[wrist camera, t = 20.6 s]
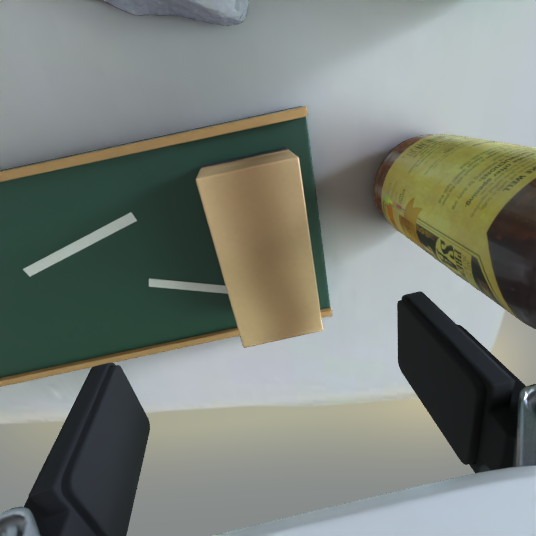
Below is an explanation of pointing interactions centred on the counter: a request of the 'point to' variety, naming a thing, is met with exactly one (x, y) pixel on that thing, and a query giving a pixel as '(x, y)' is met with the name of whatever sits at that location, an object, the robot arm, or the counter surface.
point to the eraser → (263, 244)
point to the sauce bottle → (468, 211)
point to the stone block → (189, 9)
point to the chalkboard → (126, 248)
